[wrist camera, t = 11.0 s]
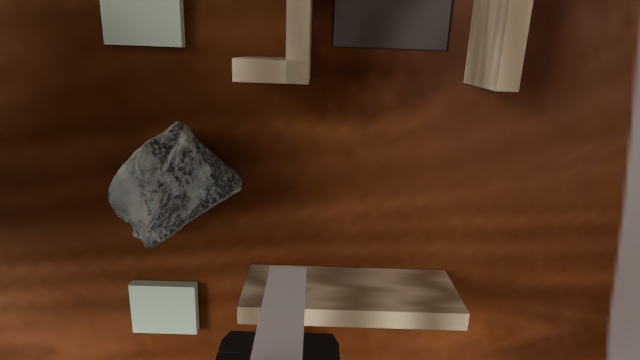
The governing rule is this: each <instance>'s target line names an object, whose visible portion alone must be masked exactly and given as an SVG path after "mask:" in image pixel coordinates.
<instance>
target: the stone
mask: <svg viewBox="0 0 640 360" xmlns="http://www.w3.org/2000/svg"><path fill="white" fill-rule="evenodd" d="M241 189H242V178H241V177H240V175H238V173H236V171H235V170H234V169H233V168H231V167H229V166H228V165H226V164H224V163H223V162H222V161H221V159H220V158H218V157H216V155H215V154H213V153H212V152H211V151H210V150H209V149H208V148H207V147H206V146H205V145H204V144H203V143H202V142H200V141H199V140H198V139H197V138H196V137H195V135H194V134H193V133H192V131H191V130H190V128H189V127H188V126H187V125H186V124H184V123H182V122H181V121H177V122H175V123H174V124H172V125H171V126H170V127H169V128H168V129H167V130H166V131H164V132H163V133H161V134H159V135H157V136H155V137H153V138H152V139H150V140H148V141H147V142H146V143H145V144H143V145H142V146H141V147H140V148H138V149H137V150H136V151H135V152H134V153H133V154H132V155H131V157H130V158H129V159H128V160H127V161H126V162H125V163H124V164H123V165H122V166H121V168H120V169H119V170H118V171H117V174H116V175H115V176H114V178H113V180H112V182H111V185H110V187H109V190H108V193H109V194H108V196H107V198H108V201H109V204H110V205H111V207H112V209H113V210H114V211H115V212H116V214H117V216H118V217H119V218H121V219H124V222H126V223H128V224H131V226H132V228H133V234H132V235H133V236H134V237H136V238H138V239H140V240H141V241H142V242H143V244H144V245H145V247H146V248H148V247H149V246H150V247H151V248H153V247H155V246H157V245H158V244H160V243H162V242H163V241H165V240H166V239H168V238H170V237H172V236H173V235H174V234H175V233H177V232H178V231H179V230H180V229H181V228H183V227H184V226H185V225H186V224H187V223H188V222H190V221H192V220H193V219H195V218H196V217H198V216H199V215H201V214H203V213H204V212H206V211H208V210H209V209H210V208H212V207H213V206H215V205H217V204H218V203H220V202H222V201H224V200H226V199H227V198H228V197H230V196H231V195H233V194H235V193H238V192H239V191H240V190H241Z"/></svg>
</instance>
